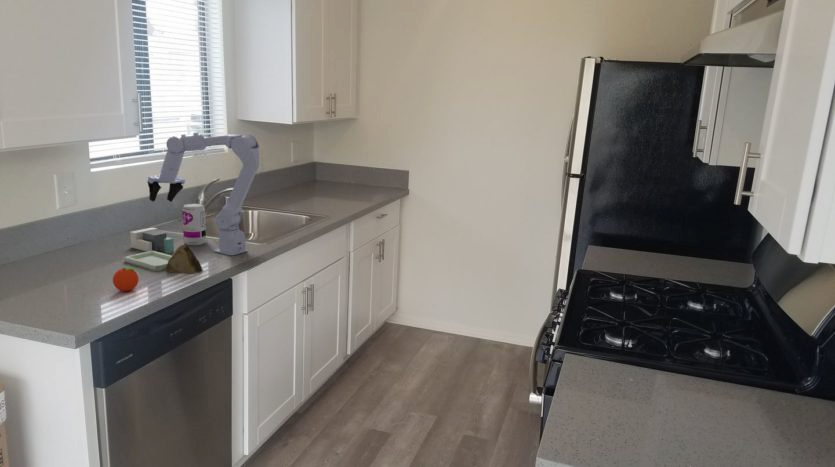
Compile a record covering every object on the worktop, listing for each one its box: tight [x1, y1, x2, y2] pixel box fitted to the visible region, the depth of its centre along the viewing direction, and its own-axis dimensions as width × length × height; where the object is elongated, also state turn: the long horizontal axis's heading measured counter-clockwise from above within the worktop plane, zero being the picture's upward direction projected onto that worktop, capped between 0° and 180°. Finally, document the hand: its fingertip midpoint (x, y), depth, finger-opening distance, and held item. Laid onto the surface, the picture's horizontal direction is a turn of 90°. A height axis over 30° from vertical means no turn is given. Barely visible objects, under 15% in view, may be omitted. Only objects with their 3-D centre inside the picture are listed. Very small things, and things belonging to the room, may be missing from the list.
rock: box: [165, 244, 204, 274], centre depth 200 cm, size 11×9×10 cm
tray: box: [123, 250, 173, 272], centre depth 208 cm, size 18×11×2 cm, turn 59°
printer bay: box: [129, 227, 170, 252], centre depth 226 cm, size 10×9×6 cm
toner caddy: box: [142, 230, 175, 254], centre depth 224 cm, size 12×5×6 cm, turn 59°
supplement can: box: [181, 203, 207, 246], centre depth 233 cm, size 8×8×15 cm
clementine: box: [112, 267, 142, 292], centre depth 180 cm, size 8×7×7 cm
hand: (160, 200), depth 224 cm, fingers open, 7 cm apart
